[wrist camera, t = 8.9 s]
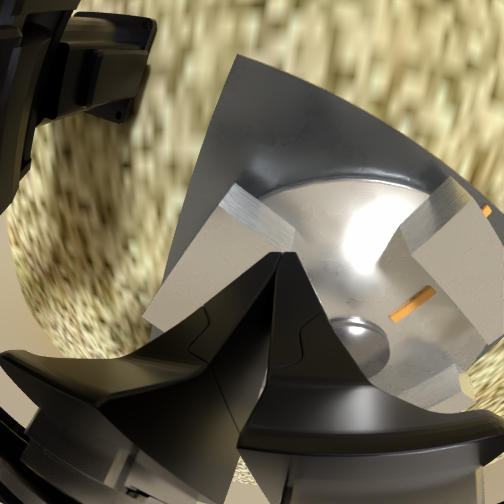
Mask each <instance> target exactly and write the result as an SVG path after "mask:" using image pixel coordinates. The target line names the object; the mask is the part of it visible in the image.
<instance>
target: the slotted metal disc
mask: <svg viewBox="0 0 504 504" xmlns="http://www.w3.org/2000/svg"><path fill="white" fill-rule="evenodd" d="M269 252H282V253H283V252H296V253H297V255H298V257H299V259H300V261H301V263H302V265H303V267H304V269H305V271H306V273H307V275H308V277H309V279H310V281H311V283H312V285H313V287H314V289H315V291H316V293H317V295H318V297H319V300H320V302H321V304H322V306H323V308H324V310H325V312H326V314H327V316H328V318H329V320H330V322H331V324H332V326H333V328H334V330H335V332H336V333H337V335H338V336H339V338H340V339H341V341H342V342H343V344H344V345H345V347H346V348H347V350H348V351H349V353H350V354H351V355H352V357H353V358H354V360H355V361H356V363H357V364H358V366H359V367H360V368H361V370H362V371H363V373H364V374H365V376H366V377H367V378H368V379H369V381H370V382H371V383H372V384H373V385H374V386H376V387H377V388H378V389H380V390H382V391H384V392H387V393H389V394H391V395H393V396H395V397H398V398H400V399H402V400H405V401H407V402H409V403H411V404H414V405H416V406H418V407H421V408H423V409H426V410H429V411H432V412H438V413H459V412H461V411H463V410H465V409H466V408H468V407H470V406H472V405H474V404H476V399H475V395H474V390H473V386H472V382H471V378H470V377H469V376H468V375H467V374H466V373H465V371H466V370H467V369H468V368H469V367H470V366H471V365H472V364H473V363H474V361H475V360H476V359H477V357H478V356H479V355H480V353H481V352H482V351H483V349H484V347H485V346H486V344H488V345H490V344H491V343H492V342H494V341H495V340H496V339H498V338H499V337H501V336H502V335H503V334H504V246H503V245H502V243H501V241H500V239H499V238H498V236H497V234H496V232H495V231H494V229H493V227H492V226H491V224H490V223H489V221H488V219H487V218H486V216H485V215H484V213H483V212H482V210H481V209H480V207H479V206H478V204H477V203H476V201H475V200H474V198H473V197H472V196H471V195H470V194H469V193H468V192H467V191H466V190H465V189H464V188H463V187H462V186H461V185H460V184H459V183H458V182H457V181H456V180H454V179H453V178H452V177H451V176H449V177H448V178H447V179H446V180H445V181H444V182H443V183H442V184H441V185H440V186H439V187H438V188H437V189H436V190H435V191H434V192H433V193H431V192H429V191H427V190H424V189H422V188H419V187H416V186H413V185H411V184H408V183H405V182H401V181H396V180H391V179H386V178H381V177H375V176H353V175H342V176H332V177H323V178H314V179H310V180H306V181H302V182H298V183H294V184H290V185H286V186H284V187H281V188H279V189H276V190H274V191H271V192H269V193H266V194H264V195H262V196H259V197H257V198H255V197H253V196H252V195H251V194H249V193H248V192H246V191H245V190H244V189H242V188H241V187H240V186H238V185H237V184H236V183H235V184H234V185H233V186H232V187H231V189H230V190H229V191H228V193H227V194H226V195H225V197H224V198H223V199H222V201H221V202H220V203H219V205H218V206H217V207H216V209H215V210H214V212H213V213H212V214H211V216H210V217H209V219H208V220H207V221H206V223H205V224H204V226H203V227H202V228H201V230H200V231H199V233H198V234H197V235H196V237H195V238H194V240H193V241H192V242H191V244H190V245H189V247H188V248H187V250H186V251H185V253H184V254H183V255H182V257H181V258H180V260H179V261H178V263H177V264H176V266H175V267H174V269H173V270H172V272H171V273H170V274H169V276H168V277H167V279H166V280H165V282H164V283H163V285H162V286H161V288H160V289H159V291H158V292H157V294H156V295H155V297H154V299H153V300H152V302H151V303H150V305H149V306H148V308H147V309H146V311H145V312H144V314H143V316H142V317H143V318H144V319H145V320H147V321H148V322H150V323H151V324H153V325H154V326H156V327H157V328H159V329H160V330H162V331H163V332H166V331H168V330H169V329H171V328H172V327H174V326H175V325H176V324H178V323H179V322H181V321H182V320H184V319H185V318H186V317H188V316H189V315H190V314H192V313H193V312H194V311H196V310H197V309H198V308H199V307H201V306H203V304H205V303H206V302H207V301H208V300H210V299H211V298H212V297H213V296H215V295H216V294H217V293H218V292H220V291H221V290H222V289H224V288H225V287H226V286H227V285H229V284H230V283H231V282H232V281H234V280H235V279H236V278H237V277H239V276H240V275H241V274H242V273H244V272H245V271H246V270H247V269H249V268H250V267H251V266H252V265H254V264H255V263H256V262H257V261H259V260H260V259H261V258H262V257H264V256H265V255H266V254H267V253H269ZM266 376H267V370H266V373H265V377H264V380H263V383H262V387H261V390H260V393H259V397H260V395H261V393H262V391H263V389H264V387H265V383H266ZM259 397H258V399H259ZM257 401H258V400H257Z"/></svg>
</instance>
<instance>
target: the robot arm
mask: <svg viewBox="0 0 504 504" xmlns="http://www.w3.org/2000/svg"><path fill="white" fill-rule="evenodd" d="M80 1H81V0H0V215H1V214H2V213H3V212H4V211H5V209H6V208H7V207H8V206H9V205H10V204H11V203H12V201H13V199H14V197H15V195H16V192H17V190H18V188H19V181H20V180H21V179H22V178H23V177H24V176H25V174H26V173H27V172H28V171H29V170H30V167H31V158H30V155H31V149H32V143H33V137H34V132H35V128H37V127H39V126H42V125H45V124H47V123H50V122H53V121H56V120H59V119H61V118H64V117H67V116H70V115H74V114H77V113H80V112H85V113H88V114H91V115H94V116H97V117H100V118H103V119H106V120H109V121H112V122H115V123H119V124H120V123H123V122H126V121H127V120H128V119H129V116H130V112H131V108H132V104H133V100H134V97H135V95H137V92H138V88H139V85H140V81H141V78H142V74H143V71H144V68H145V65H146V61H147V58H148V50H149V47H150V44H151V41H152V38H153V36H154V33H155V30H156V27H157V23H156V21H155V20H154V19H151V18H146V17H139V16H131V15H122V14H112V13H99V12H77V13H75V14H74V16H73V17H71V15H72V13H73V10H76V9H77V7H78V5H79V3H80ZM147 23H149V27H148V29H145V25H146V24H147ZM120 112H121V113H122V118H121V117H120ZM0 366H1V367H2V369H3V370H4V371H5V372H6V374H7V375H8V376H9V377H10V378H11V379H12V380H13V382H14V383H15V384H16V385H17V386H18V387H19V388H20V389H21V390H22V391H23V392H24V393H25V394H26V395H27V396H28V397H29V398H30V399H31V400H32V401H33V402H34V403H35V404H36V405H37V406H38V407H39V408H38V409H37V411H36V413H35V414H34V416H33V418H32V419H31V421H30V423H29V424H28V426H27V428H26V429H25V428H24V427H23V426H22V425H20V424H19V423H18V422H17V421H16V420H14V419H13V418H12V417H11V416H10V415H9V414H8V413H7V412H5V411H4V410H3V409H2V408H1V407H0V502H1V503H3V504H196V503H197V501H199V502H203V503H207V504H223V503H224V501H225V498H226V495H227V492H228V490H229V486H230V484H231V481H232V478H233V475H234V472H235V469H236V466H237V463H238V460H239V457H240V456H241V457H242V459H243V461H244V462H245V464H246V466H247V467H248V469H249V471H250V472H251V474H252V476H253V477H254V479H255V480H256V482H257V484H258V485H259V487H260V488H261V490H262V492H263V493H264V495H265V496H266V497H267V499H268V501H269V502H270V504H485V496H484V476H483V467H484V466H485V465H487V464H488V463H490V462H491V461H492V460H494V459H495V458H496V457H498V456H499V455H500V454H502V453H503V452H504V419H503V418H502V417H500V416H499V415H496V414H495V413H493V412H491V411H489V410H483V409H479V410H471V411H466V412H460V413H438V412H432V411H429V410H426V409H423V408H421V407H418V406H416V405H414V404H411V403H409V402H407V401H405V400H402V399H400V398H398V397H395V396H393V395H391V394H389V393H387V392H384V391H382V390H380V389H378V388H377V387H376V386H374V385H373V384H372V383H371V382H370V381H369V379H368V378H367V377H366V376H365V374H364V373H363V371H362V370H361V368H360V367H359V366H358V364H357V363H356V361H355V360H354V358H353V357H352V355H351V354H350V353H349V351H348V350H347V348H346V347H345V345H344V344H343V342H342V341H341V339H340V338H339V336H338V335H337V333H336V332H335V330H334V328H333V326H332V324H331V322H330V320H329V318H328V316H327V314H326V312H325V310H324V308H323V306H322V304H321V302H320V300H319V297H318V295H317V293H316V291H315V289H314V287H313V285H312V283H311V281H310V279H309V277H308V275H307V273H306V271H305V269H304V267H303V265H302V263H301V261H300V259H299V257H298V255H297V253H296V252H283V253H282V252H269V253H267V254H266V255H265V256H264V257H262V258H261V259H260V260H259V261H257V262H256V263H255V264H254V265H252V266H251V267H250V268H249V269H247V270H246V271H245V272H244V273H242V274H241V275H240V276H239V277H237V278H236V279H235V280H234V281H232V282H231V283H230V284H229V285H227V286H226V287H225V288H224V289H222V290H221V291H220V292H218V293H217V294H216V295H215V296H213V297H212V298H211V299H210V300H208V301H207V302H206V303H205V304H203V306H201V307H199V308H198V309H197V310H196V311H194V312H193V313H192V314H190V315H189V316H188V317H186V318H185V319H184V320H182V321H181V322H179V323H178V324H176V325H175V326H174V327H172V328H171V329H169V330H168V331H166V332H164V333H163V334H161V335H160V336H158V337H157V338H155V339H153V340H152V341H150V342H149V343H147V344H145V345H144V346H142V347H141V348H139V349H138V350H136V351H134V352H132V353H131V354H128V355H126V356H123V357H120V358H114V359H76V358H53V357H44V356H38V355H34V354H32V353H29V352H27V351H25V350H8V351H4V352H2V353H0ZM266 370H267V376H266V383H265V387H264V389H263V391H262V393H261V395H260V397H259V393H260V390H261V387H262V383H263V380H264V377H265V373H266ZM258 397H259V399H258ZM257 400H258V401H257ZM498 504H504V501H503V502H501V503H498Z"/></svg>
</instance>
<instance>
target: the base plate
mask: <svg viewBox="0 0 504 504" xmlns="http://www.w3.org/2000/svg"><path fill="white" fill-rule="evenodd" d="M342 175H353V176H375V177H381V178H386V179H391V180H396V181H401V182H405V183H408V184H411V185H413V186H416V187H419V188H422V189H424V190H427V191H429V192H431V193H433V192H434V191H435V190H436V189H437V188H438V187H439V186H440V185H441V184H442V183H443V182H444V181H445V180H446V179H447V178H448V177H449V176H451V177H452V178H453V179H454V180H456V181H457V182H458V183H459V184H460V185H461V186H462V187H463V188H464V189H465V190H466V191H467V192H468V193H469V194H470V195H471V196H472V197H473V198H474V200H475V201H476V203H477V204H478V206H479V207H480V209H481V210H482V212H483V213H484V215H485V216H486V218H487V219H488V221H489V223H490V224H491V226H492V227H493V229H494V231H495V232H496V234H497V236H498V238H499V239H500V241H501V243H502V245H503V246H504V214H503V213H502V212H501V211H500V210H499V209H498V208H497V207H496V206H495V205H494V204H493V203H492V202H491V201H489V200H488V199H487V198H486V197H485V196H484V195H483V194H482V193H481V192H479V191H478V190H477V189H476V188H475V187H474V186H473V185H471V184H470V183H469V182H468V181H467V180H465V179H464V178H463V177H462V176H460V175H459V174H458V173H457V172H456V171H454V170H453V169H452V168H450V167H449V166H448V165H447V164H445V163H444V162H443V161H441V160H440V159H439V158H437V157H436V156H435V155H433V154H432V153H430V152H429V151H428V150H426V149H425V148H423V147H422V146H421V145H419V144H418V143H416V142H415V141H413V140H412V139H410V138H409V137H407V136H406V135H404V134H403V133H401V132H400V131H398V130H397V129H395V128H393V127H392V126H390V125H389V124H387V123H385V122H384V121H382V120H380V119H379V118H377V117H375V116H374V115H372V114H370V113H369V112H367V111H365V110H363V109H361V108H360V107H358V106H356V105H354V104H352V103H351V102H349V101H347V100H345V99H343V98H341V97H339V96H337V95H335V94H333V93H331V92H329V91H327V90H325V89H323V88H321V87H319V86H317V85H315V84H313V83H310V82H308V81H306V80H304V79H302V78H299V77H297V76H295V75H292V74H290V73H288V72H285V71H283V70H280V69H278V68H275V67H273V66H270V65H268V64H265V63H262V62H260V61H257V60H254V59H251V58H249V57H246V56H242V55H239V54H237V56H236V58H235V61H234V63H233V65H232V68H231V70H230V73H229V75H228V78H227V80H226V83H225V85H224V88H223V90H222V93H221V95H220V98H219V100H218V103H217V106H216V108H215V111H214V114H213V116H212V119H211V122H210V125H209V127H208V130H207V133H206V136H205V139H204V142H203V144H202V147H201V150H200V153H199V156H198V159H197V162H196V165H195V168H194V171H193V174H192V178H191V181H190V184H189V187H188V190H187V194H186V197H185V200H184V203H183V207H182V210H181V214H180V217H179V220H178V224H177V227H176V231H175V235H174V238H173V242H172V246H171V249H170V253H169V257H168V261H167V265H166V269H165V272H164V276H163V281H162V285H163V283H164V282H165V280H166V279H167V277H168V276H169V274H170V273H171V272H172V270H173V269H174V267H175V266H176V264H177V263H178V261H179V260H180V258H181V257H182V255H183V254H184V253H185V251H186V250H187V248H188V247H189V245H190V244H191V242H192V241H193V240H194V238H195V237H196V235H197V234H198V233H199V231H200V230H201V228H202V227H203V226H204V224H205V223H206V221H207V220H208V219H209V217H210V216H211V214H212V213H213V212H214V210H215V209H216V207H217V206H218V205H219V203H220V202H221V201H222V199H223V198H224V197H225V195H226V194H227V193H228V191H229V190H230V189H231V187H232V186H233V185H234V184H235V183H236V184H237V185H238V186H240V187H241V188H242V189H244V190H245V191H246V192H248V193H249V194H251V195H252V196H253V197H255V198H257V197H259V196H262V195H264V194H266V193H269V192H271V191H274V190H276V189H279V188H281V187H284V186H286V185H290V184H294V183H298V182H302V181H306V180H310V179H314V178H323V177H332V176H342ZM162 285H161V286H162ZM163 333H164V332H163V331H162V330H160V329H159V328H157V327H156V326H154V325H153V324H152V329H151V334H150V339H149V342H150V341H152V340H153V339H155V338H157V337H158V336H160V335H161V334H163ZM503 337H504V334H503V335H502V336H501V337H499V338H498V339H496V340H495V341H494V342H492V343H491V344H490V345H488V344H486V346H485V347H484V349H483V351H482V352H481V353H480V355H479V356H478V357H477V359H476V360H475V361H474V363H475V362H476V361H477V360H479V359H480V358H481V357H482V356H483V355H484V354H485V353H487V352H488V351H489V350H490V349H491V348H492V347H493V346H494V345H496V344H497V343H498V342H499V341H500V340H501V339H502V338H503ZM474 363H473V364H474ZM473 364H472V365H473Z"/></svg>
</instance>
